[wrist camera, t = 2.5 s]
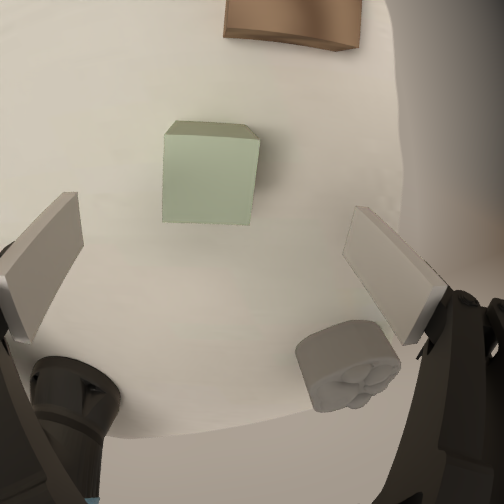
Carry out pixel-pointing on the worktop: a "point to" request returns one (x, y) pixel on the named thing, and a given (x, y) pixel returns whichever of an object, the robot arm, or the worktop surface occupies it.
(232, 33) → the walnut block
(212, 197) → the sage block
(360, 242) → the robot arm
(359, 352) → the lumpy-topped squat cylinder
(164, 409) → the worktop surface
